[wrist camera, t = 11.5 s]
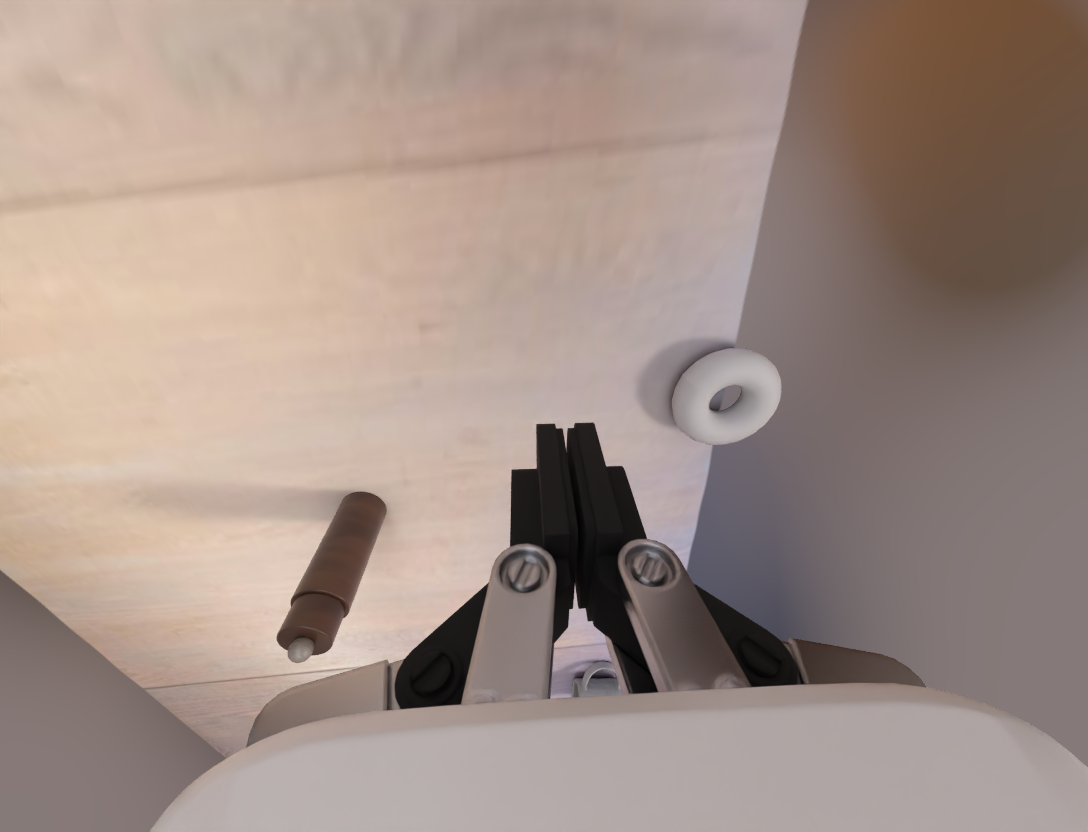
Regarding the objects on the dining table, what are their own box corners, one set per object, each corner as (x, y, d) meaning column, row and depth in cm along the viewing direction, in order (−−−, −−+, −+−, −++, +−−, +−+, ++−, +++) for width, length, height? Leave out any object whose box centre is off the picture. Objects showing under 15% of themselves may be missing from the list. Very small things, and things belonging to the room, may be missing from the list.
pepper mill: (367, 485, 44) (295, 637, 30) (395, 513, 46) (341, 665, 32) (332, 502, 45) (247, 656, 31) (362, 528, 47) (295, 683, 33)
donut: (741, 437, 43) (789, 351, 38) (757, 457, 40) (812, 367, 35) (652, 424, 42) (690, 333, 36) (662, 444, 39) (704, 349, 33)
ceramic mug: (616, 691, 71) (626, 744, 64) (570, 693, 70) (575, 746, 64) (626, 657, 66) (638, 712, 59) (576, 659, 65) (582, 714, 58)
